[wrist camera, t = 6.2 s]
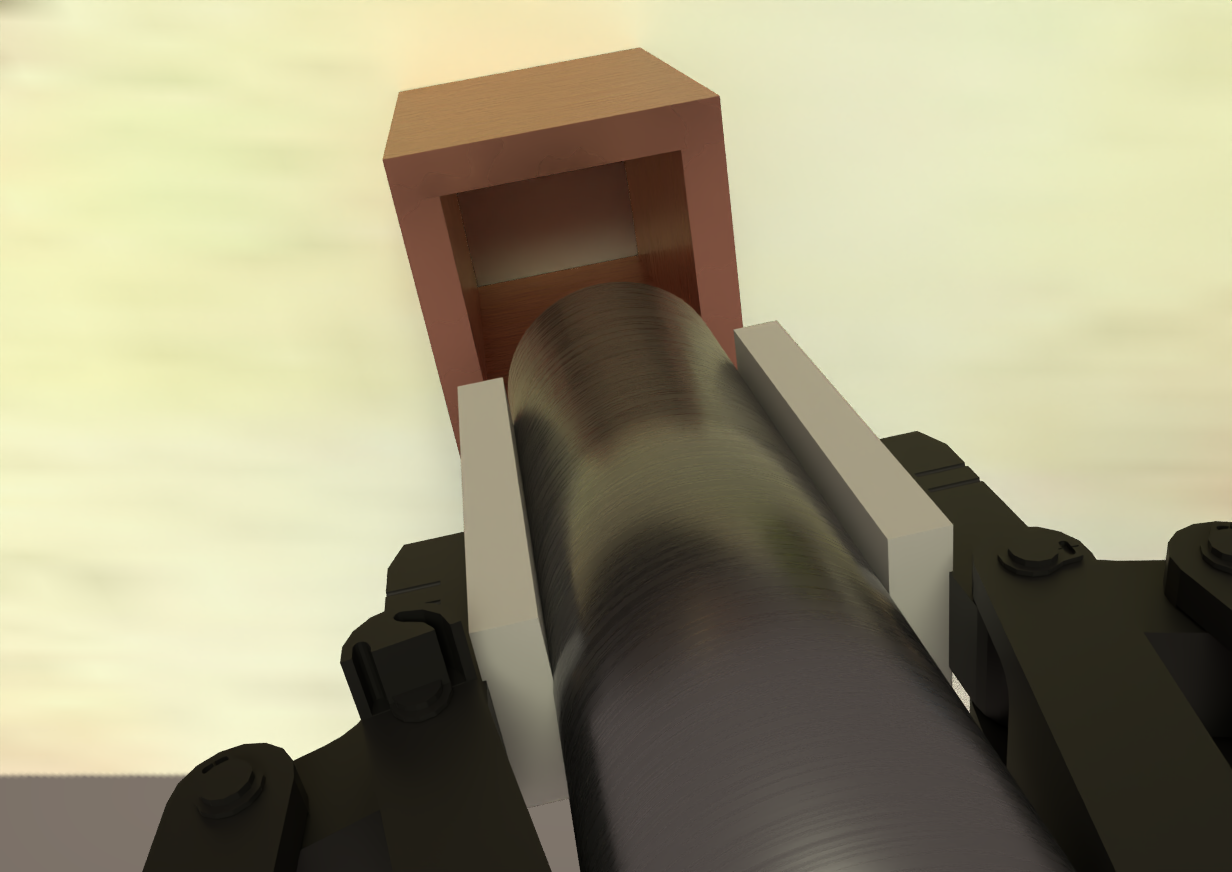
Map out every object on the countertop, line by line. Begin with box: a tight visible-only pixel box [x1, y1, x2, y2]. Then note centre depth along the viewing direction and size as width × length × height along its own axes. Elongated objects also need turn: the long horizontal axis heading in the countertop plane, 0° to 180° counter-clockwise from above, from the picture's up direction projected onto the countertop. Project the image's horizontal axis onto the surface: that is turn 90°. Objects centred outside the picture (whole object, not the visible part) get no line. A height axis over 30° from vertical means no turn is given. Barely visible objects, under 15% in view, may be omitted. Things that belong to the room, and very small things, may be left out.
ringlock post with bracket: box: [383, 48, 743, 458], centre depth 23 cm, size 11×20×29 cm, turn 9°
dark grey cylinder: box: [508, 282, 1077, 872], centre depth 12 cm, size 4×4×14 cm
